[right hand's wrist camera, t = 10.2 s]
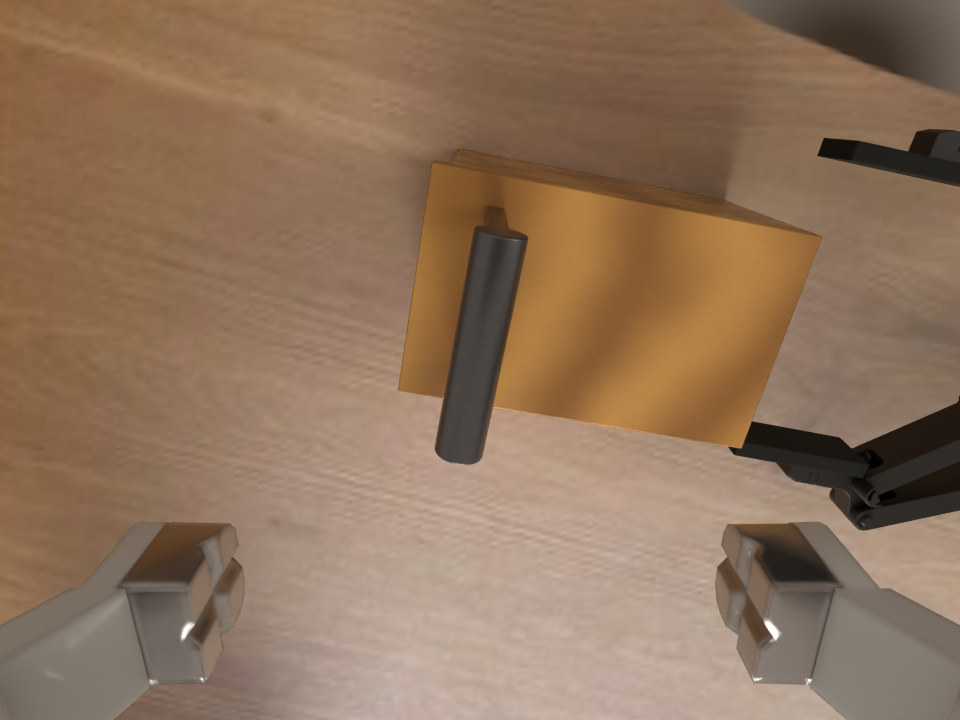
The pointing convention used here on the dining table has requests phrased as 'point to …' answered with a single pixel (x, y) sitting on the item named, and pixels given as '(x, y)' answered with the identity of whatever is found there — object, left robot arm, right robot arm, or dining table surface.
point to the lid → (593, 310)
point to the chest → (611, 186)
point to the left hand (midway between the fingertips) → (775, 303)
